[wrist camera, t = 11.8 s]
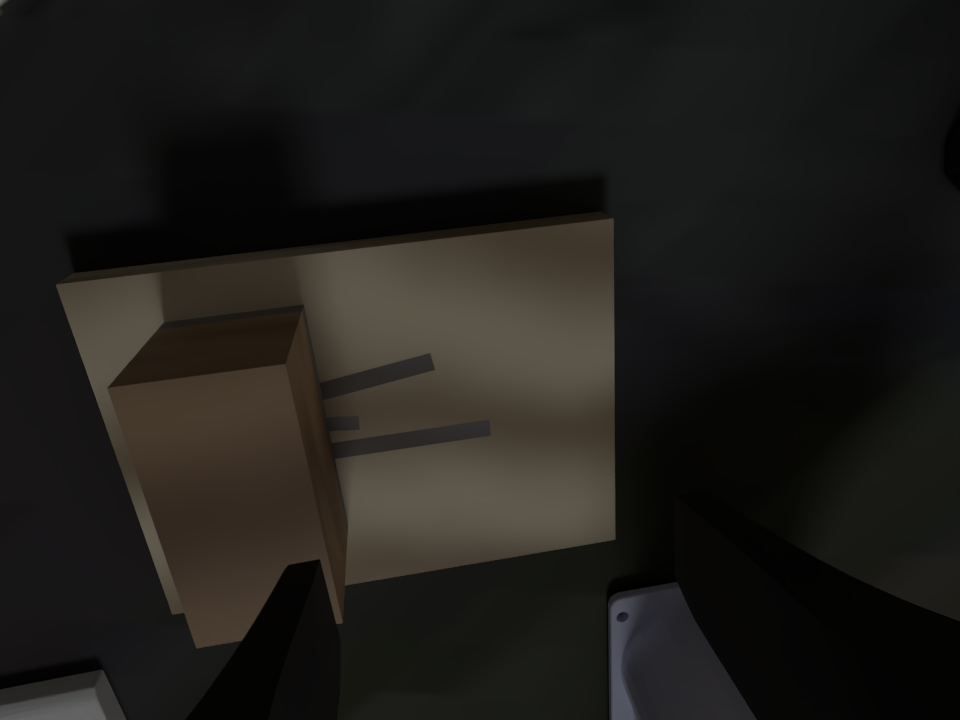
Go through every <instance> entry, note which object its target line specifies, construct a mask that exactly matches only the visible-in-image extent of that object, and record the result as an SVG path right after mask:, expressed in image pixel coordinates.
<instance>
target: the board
mask: <svg viewBox="0 0 960 720" xmlns="http://www.w3.org/2000/svg"><path fill="white" fill-rule="evenodd" d="M56 287H57V290H58V292H59V295H60V298H61V301H62V304H63V306H64V309H65V312H66V315H67V318H68V321H69V323H70V326H71V329H72V332H73V335H74V338H75V340H76V343H77V346H78V349H79V352H80V355H81V357H82V360H83V363H84V366H85V369H86V372H87V374H88V377H89V380H90V383H91V386H92V388H93V391H94V394H95V397H96V400H97V403H98V405H99V408H100V411H101V414H102V417H103V420H104V422H105V425H106V428H107V431H108V434H109V437H110V439H111V442H112V445H113V448H114V451H115V454H116V456H117V459H118V462H119V465H120V468H121V470H122V473H123V476H124V479H125V482H126V485H127V487H128V490H129V493H130V496H131V499H132V502H133V504H134V507H135V510H136V513H137V516H138V519H139V521H140V524H141V527H142V530H143V533H144V536H145V538H146V541H147V544H148V547H149V550H150V552H151V555H152V558H153V561H154V564H155V567H156V569H157V572H158V575H159V578H160V581H161V584H162V586H163V589H164V592H165V595H166V598H167V601H168V603H169V606H170V609H171V612H172V614H178V613H184V610H183V608H182V605H181V602H180V599H179V596H178V593H177V590H176V587H175V584H174V581H173V578H172V576H171V573H170V570H169V567H168V564H167V561H166V558H165V555H164V552H163V549H162V546H161V543H160V541H159V538H158V535H157V532H156V529H155V526H154V523H153V520H152V517H151V514H150V511H149V509H148V506H147V503H146V500H145V497H144V494H143V491H142V488H141V485H140V482H139V479H138V477H137V474H136V471H135V468H134V465H133V462H132V459H131V456H130V453H129V450H128V447H127V444H126V442H125V439H124V436H123V433H122V430H121V427H120V424H119V421H118V418H117V415H116V412H115V410H114V407H113V404H112V401H111V398H110V395H109V392H108V389H107V387H108V386H109V385H110V384H111V383H112V382H113V381H114V379H115V378H116V377H117V376H118V375H119V374H120V372H121V371H122V370H123V369H124V368H125V367H126V366H127V364H128V363H129V362H130V361H131V360H132V359H133V357H134V356H135V355H136V354H137V353H138V352H139V351H140V349H141V348H142V347H143V346H144V345H145V344H146V342H147V341H148V340H149V339H150V338H151V337H152V336H153V334H154V333H155V332H156V331H157V330H158V329H159V327H160V326H161V325H162V324H163V323H164V322H171V321H179V320H187V319H195V318H202V317H210V316H218V315H226V314H234V313H242V312H250V311H258V310H266V309H274V308H282V307H290V306H298V305H304V308H305V313H306V318H307V323H308V328H309V333H310V338H311V343H312V348H313V353H314V358H315V363H316V368H317V373H318V378H319V383H320V388H321V393H322V398H323V403H324V408H325V413H326V417H327V422H328V427H329V432H330V437H331V442H332V447H333V452H334V457H335V462H336V467H337V472H338V477H339V482H340V487H341V492H342V497H343V502H344V507H345V512H346V517H347V522H348V537H347V555H346V573H345V585H350V584H356V583H362V582H368V581H374V580H379V579H385V578H391V577H397V576H403V575H409V574H415V573H421V572H427V571H433V570H439V569H445V568H450V567H456V566H462V565H468V564H474V563H480V562H486V561H492V560H498V559H504V558H510V557H515V556H521V555H527V554H533V553H539V552H545V551H551V550H557V549H563V548H569V547H575V546H581V545H586V544H592V543H598V542H604V541H610V540H615V394H614V218H612V217H610V216H608V215H607V214H605V213H603V212H601V211H600V212H591V213H583V214H574V215H566V216H557V217H549V218H540V219H531V220H523V221H514V222H506V223H497V224H489V225H480V226H472V227H463V228H455V229H446V230H437V231H429V232H420V233H412V234H403V235H395V236H386V237H378V238H369V239H361V240H352V241H344V242H335V243H326V244H318V245H309V246H301V247H292V248H284V249H275V250H267V251H258V252H250V253H241V254H232V255H224V256H215V257H207V258H198V259H190V260H181V261H173V262H164V263H156V264H147V265H138V266H130V267H121V268H113V269H104V270H96V271H87V272H79V273H73V274H71V275H70V276H68V277H67V278H65V279H64V280H62V281H60V282H59V283H57V284H56Z"/></svg>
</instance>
